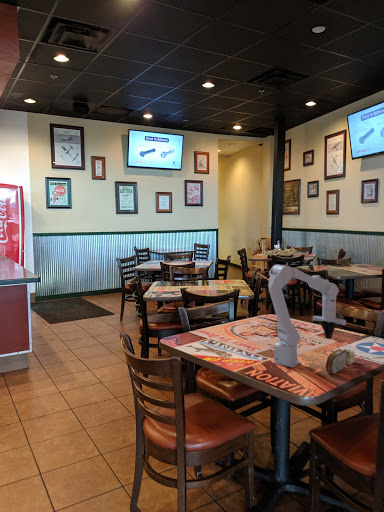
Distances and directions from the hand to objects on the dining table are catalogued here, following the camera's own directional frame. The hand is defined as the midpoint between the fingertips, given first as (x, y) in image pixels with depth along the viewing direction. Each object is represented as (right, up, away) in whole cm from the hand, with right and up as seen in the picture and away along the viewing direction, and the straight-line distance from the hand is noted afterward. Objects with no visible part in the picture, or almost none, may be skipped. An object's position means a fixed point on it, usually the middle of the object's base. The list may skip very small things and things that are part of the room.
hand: (328, 338), depth 177 cm
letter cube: (+6, -10, -4) cm, 12 cm away
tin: (-2, -11, -15) cm, 18 cm away
